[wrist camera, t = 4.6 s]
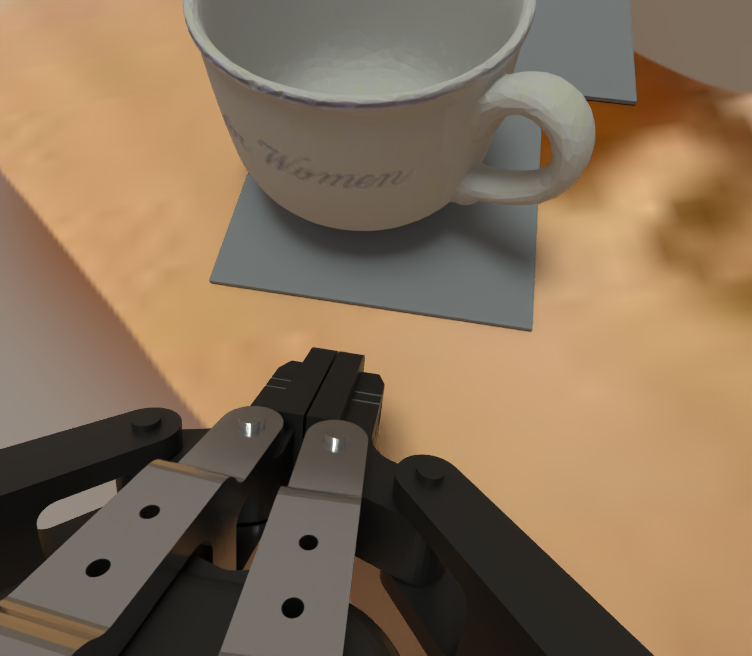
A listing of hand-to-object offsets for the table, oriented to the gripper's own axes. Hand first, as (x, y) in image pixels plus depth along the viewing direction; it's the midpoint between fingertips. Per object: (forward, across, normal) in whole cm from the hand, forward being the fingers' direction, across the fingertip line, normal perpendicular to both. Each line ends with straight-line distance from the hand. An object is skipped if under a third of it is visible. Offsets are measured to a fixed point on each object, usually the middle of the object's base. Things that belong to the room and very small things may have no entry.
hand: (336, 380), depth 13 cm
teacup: (+10, 0, -5) cm, 11 cm away
